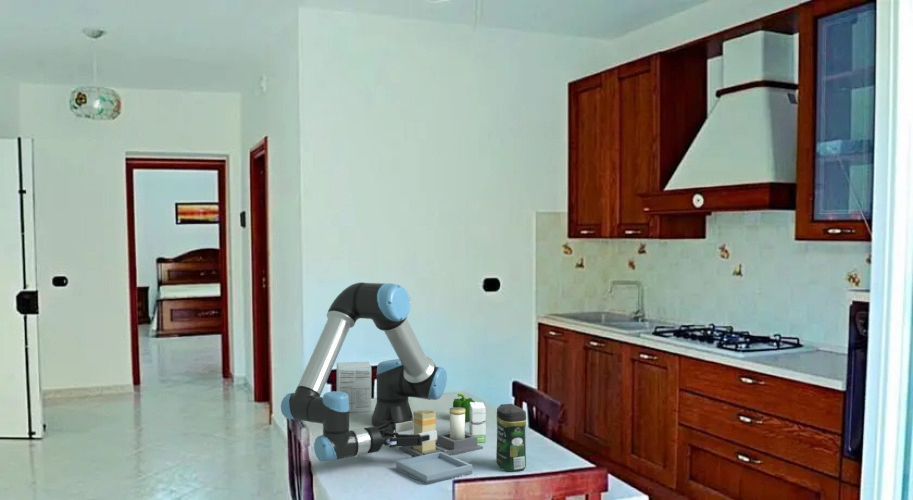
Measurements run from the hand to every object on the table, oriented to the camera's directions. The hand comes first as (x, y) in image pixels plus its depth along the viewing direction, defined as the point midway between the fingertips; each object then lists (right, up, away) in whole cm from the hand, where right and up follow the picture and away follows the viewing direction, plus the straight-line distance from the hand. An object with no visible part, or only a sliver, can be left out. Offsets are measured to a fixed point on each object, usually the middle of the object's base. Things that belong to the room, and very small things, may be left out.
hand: (424, 429), depth 228 cm
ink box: (+17, -7, +16) cm, 25 cm away
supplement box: (-31, -6, +57) cm, 65 cm away
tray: (+4, -8, -18) cm, 20 cm away
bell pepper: (+13, -7, +40) cm, 43 cm away
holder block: (+5, -7, +5) cm, 10 cm away
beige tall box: (0, -7, +1) cm, 7 cm away
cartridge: (+11, -7, +8) cm, 15 cm away
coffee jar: (+27, -8, -13) cm, 31 cm away
